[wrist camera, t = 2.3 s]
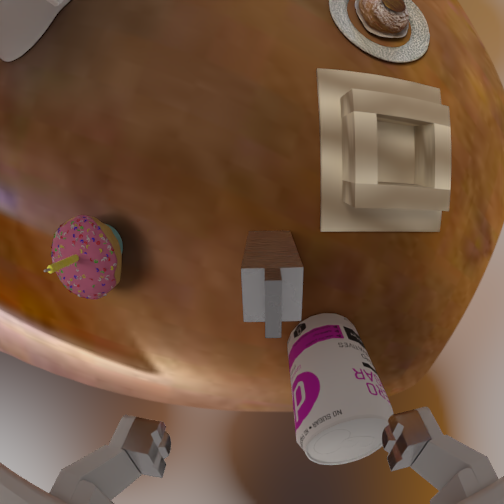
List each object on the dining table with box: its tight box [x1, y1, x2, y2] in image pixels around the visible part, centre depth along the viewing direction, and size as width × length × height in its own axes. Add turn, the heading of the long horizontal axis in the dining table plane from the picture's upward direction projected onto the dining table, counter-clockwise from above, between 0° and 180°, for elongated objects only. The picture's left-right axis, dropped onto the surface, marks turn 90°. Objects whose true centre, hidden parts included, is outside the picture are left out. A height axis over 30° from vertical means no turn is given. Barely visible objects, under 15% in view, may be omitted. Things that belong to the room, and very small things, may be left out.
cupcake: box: [44, 215, 123, 299], centre depth 23 cm, size 9×8×12 cm
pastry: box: [329, 0, 430, 63], centre depth 18 cm, size 12×12×5 cm
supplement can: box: [287, 313, 393, 465], centre depth 24 cm, size 8×8×15 cm
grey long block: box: [241, 231, 303, 338], centre depth 23 cm, size 4×4×12 cm
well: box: [316, 68, 451, 232], centre depth 23 cm, size 16×14×5 cm
